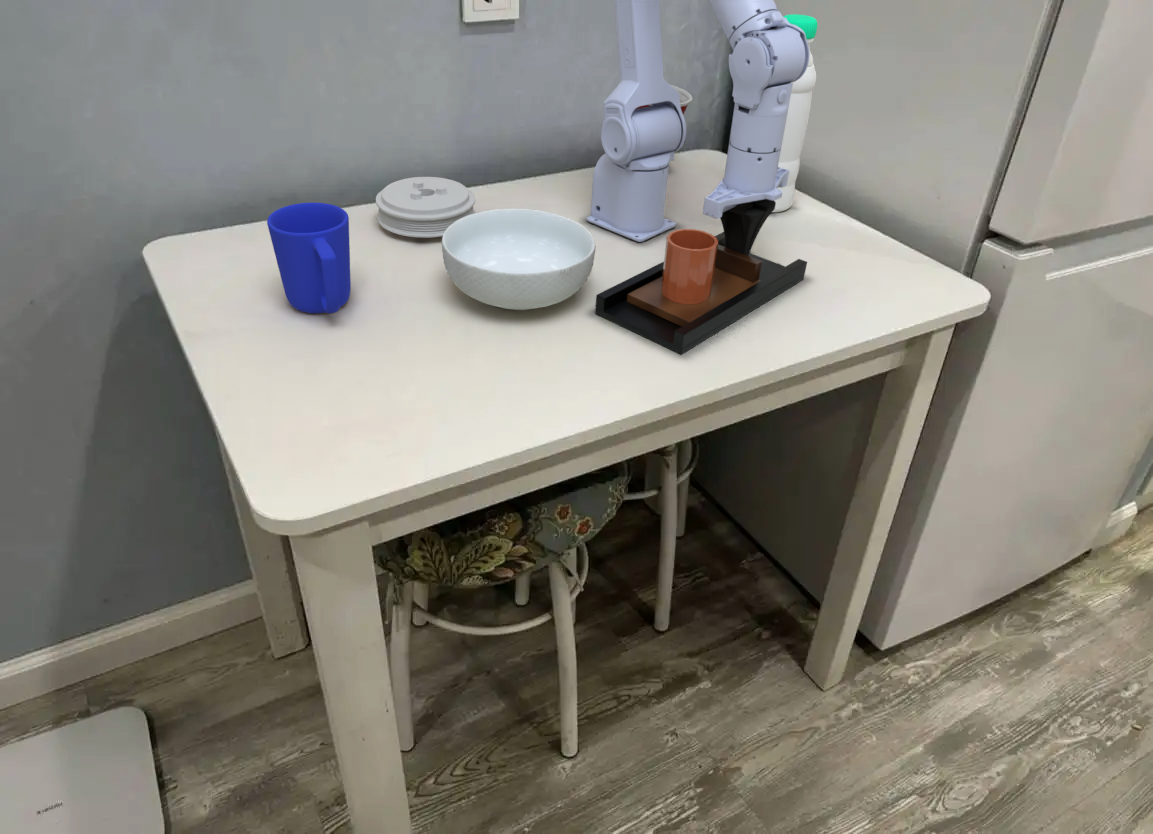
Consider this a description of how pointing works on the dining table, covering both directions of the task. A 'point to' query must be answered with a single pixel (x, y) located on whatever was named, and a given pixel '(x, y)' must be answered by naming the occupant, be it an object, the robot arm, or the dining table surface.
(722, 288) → the slide
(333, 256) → the mug
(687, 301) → the cup
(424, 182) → the lid
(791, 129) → the water bottle
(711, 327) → the slide rail
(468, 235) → the cereal bowl
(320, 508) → the dining table surface
